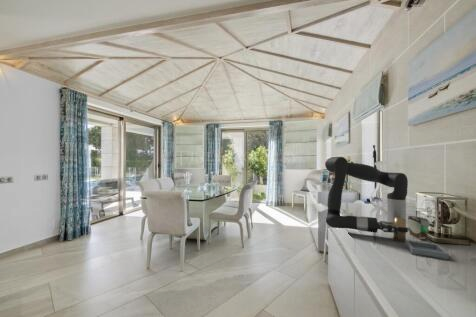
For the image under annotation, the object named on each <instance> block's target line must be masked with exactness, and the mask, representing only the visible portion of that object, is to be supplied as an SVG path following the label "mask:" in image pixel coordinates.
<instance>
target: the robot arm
mask: <svg viewBox="0 0 476 317" xmlns="http://www.w3.org/2000/svg"><path fill="white" fill-rule="evenodd" d="M324 166H325V168H326V170H327V171H328V172H330V173H333V174H334V180H333V183H332V184H331V187H330V189H329V191H328V195H327V215H326V218H325V223H326V224H327V226H328V227H330V228H334V229H350V230H356V231H360V232H367V233H375V234H376V233H378V230H381V231H382V232H383V233H397V232H405V233H406V234H407V233H409V228H407V227H406V228H404V227H397V226H393V217H401V218H405V219H406V220H407V198H406V197H407V195H408V185H409V181H408V177H407V175H406V174H405V173H402V172H387V171H381V170H379V169H378V168H376V167H374V166H373V165H369V164H366V163H365V164H364V163H357V162H356V163H355V162H349V161H348V159H347V158H345V157H343V156H331V157H329V158H328V159H326V161H325V162H324ZM347 176H350V177H352V178H356V179H358V180H362V181H367V182H371V183H378V184H381V185H383V186H386V187H388V188H393V191H391V192H389V193H387V194H386V195H387V196H386V198H387V199H386V201H387V202H386V204H387V206H386V207H387V209H386V210H387V212H386V214H387V215H386V216H387V217H386V219H387V220H385V221H384V220H380V221H378V218H377V217H370V216H358V215H357V216H356V215H341V207H342V199H343V198H342V197H343V189H344V185H345V181H346V178H347ZM393 229H394V230H393Z"/></svg>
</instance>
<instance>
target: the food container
mask: <svg viewBox="0 0 476 317" xmlns="http://www.w3.org/2000/svg"><path fill="white" fill-rule="evenodd" d="M407 220H408V233H409V236H411V237H413V238H415V239H417V240H419V241H427V240H428V229H429V226H430V225H431V223H430V221H429V219H428V218H425V217H421V216H414V215H408V216H407Z"/></svg>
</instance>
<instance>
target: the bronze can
mask: <svg viewBox="0 0 476 317" xmlns="http://www.w3.org/2000/svg"><path fill="white" fill-rule="evenodd" d="M393 226H397V227H404V228H407V218H406V219H405V218H401V217H393ZM393 230H394V229H393ZM392 237H393V240H394V241H396V242H400V243H406V240H407V233H405V232H397V233H393V234H392Z"/></svg>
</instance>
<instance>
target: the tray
mask: <svg viewBox="0 0 476 317" xmlns="http://www.w3.org/2000/svg"><path fill="white" fill-rule="evenodd" d="M405 247H406V248H407V249H408V251H409V252H410V254H411V255H413V256H419V257H425V258H433V259H438V260H444V261H445V260H446V261H449V253H448V252H447V251H446V250H445V249H444V248H443V247H441V246H440V245H439V244H437V243H429V242H422V241H414V240H407V239H406V242H405Z"/></svg>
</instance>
